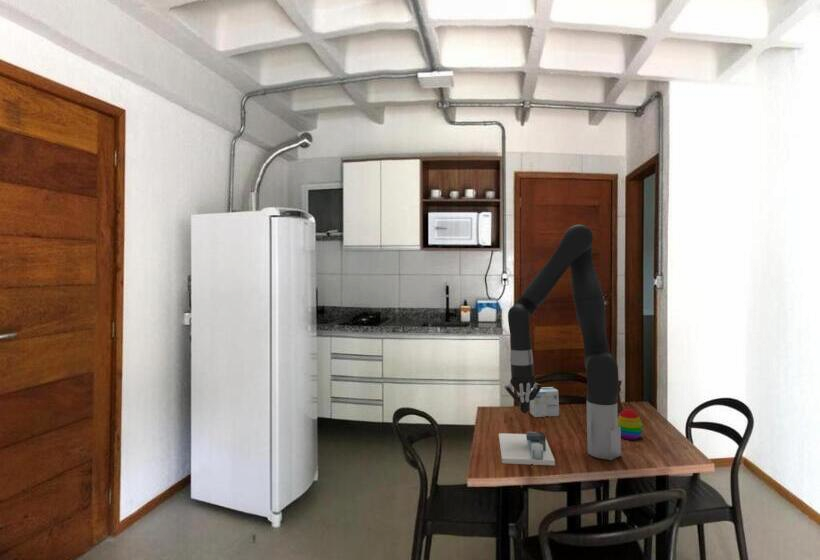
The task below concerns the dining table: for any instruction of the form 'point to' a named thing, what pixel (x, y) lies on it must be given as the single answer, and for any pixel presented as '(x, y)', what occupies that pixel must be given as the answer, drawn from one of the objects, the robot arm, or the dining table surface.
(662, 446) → the dining table surface
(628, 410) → the decorative egg
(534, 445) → the teal long piece
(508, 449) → the board
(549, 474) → the dining table surface
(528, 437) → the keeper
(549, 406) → the light bulb box
